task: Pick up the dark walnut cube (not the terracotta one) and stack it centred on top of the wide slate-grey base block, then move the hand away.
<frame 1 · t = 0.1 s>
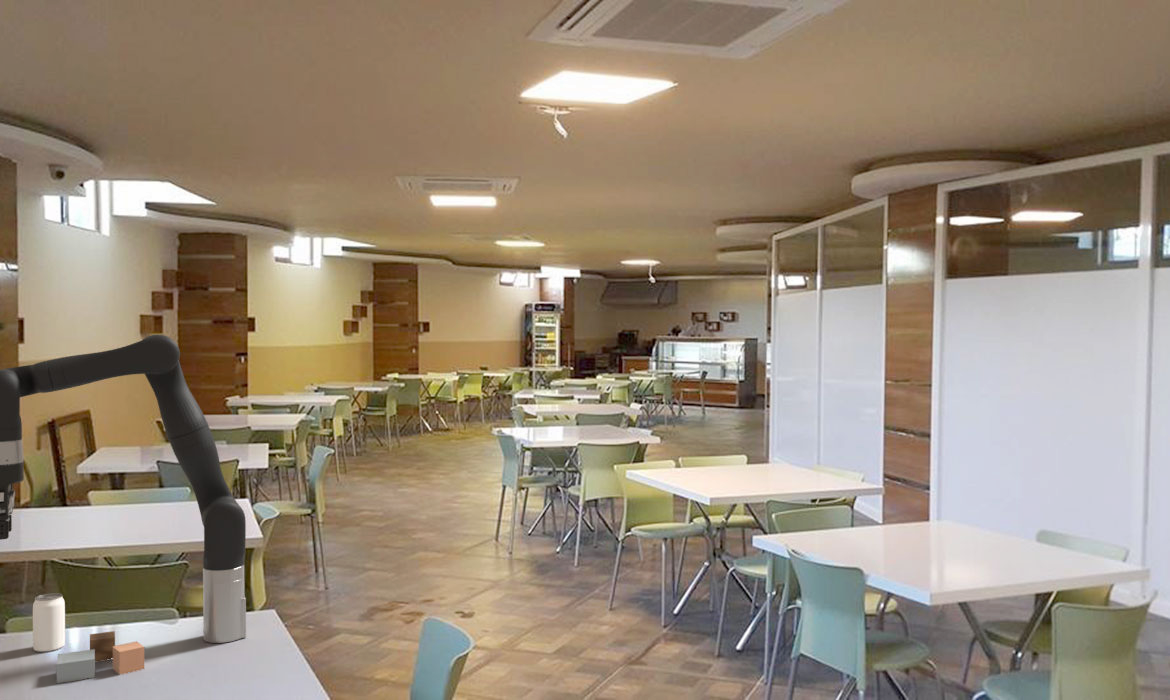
hand: (4, 535, 203), 29 cm above the table, tool pointing down, fingers open, 8 cm apart
terracotta cube: (128, 669, 203), on the table
base block: (76, 675, 199), on the table
can: (49, 648, 216), on the table
walnut cube: (102, 657, 210), on the table
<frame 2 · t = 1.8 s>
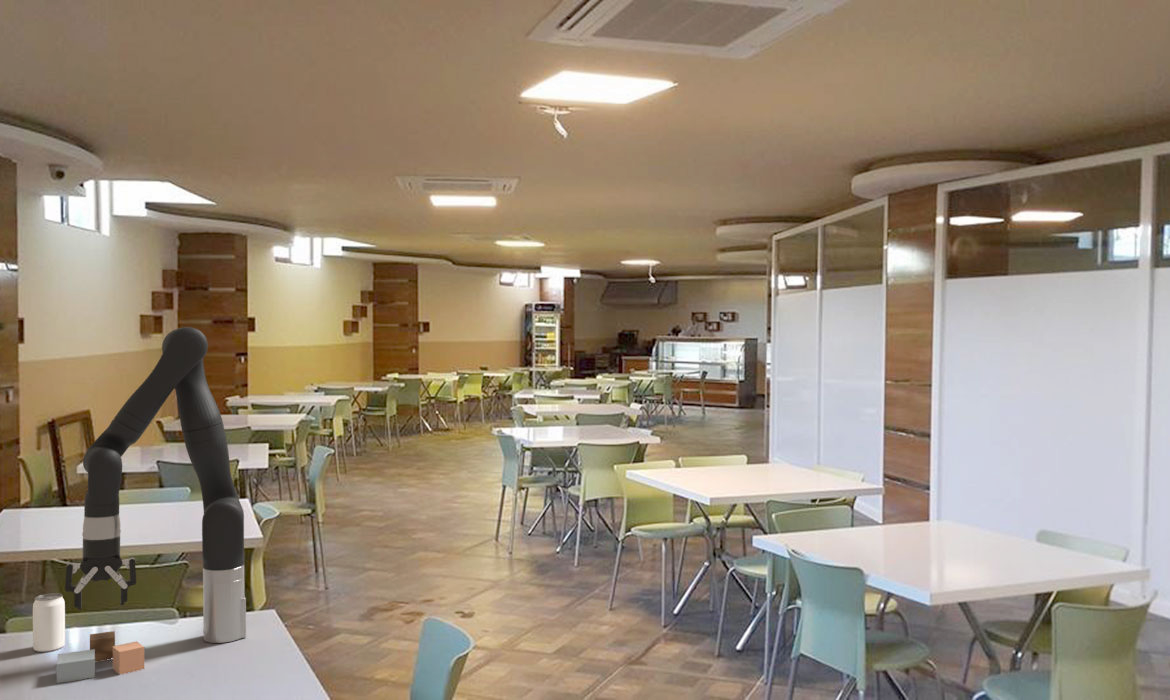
hand: (100, 606, 210), 11 cm above the table, tool pointing down, fingers open, 8 cm apart
nothing on the table moved.
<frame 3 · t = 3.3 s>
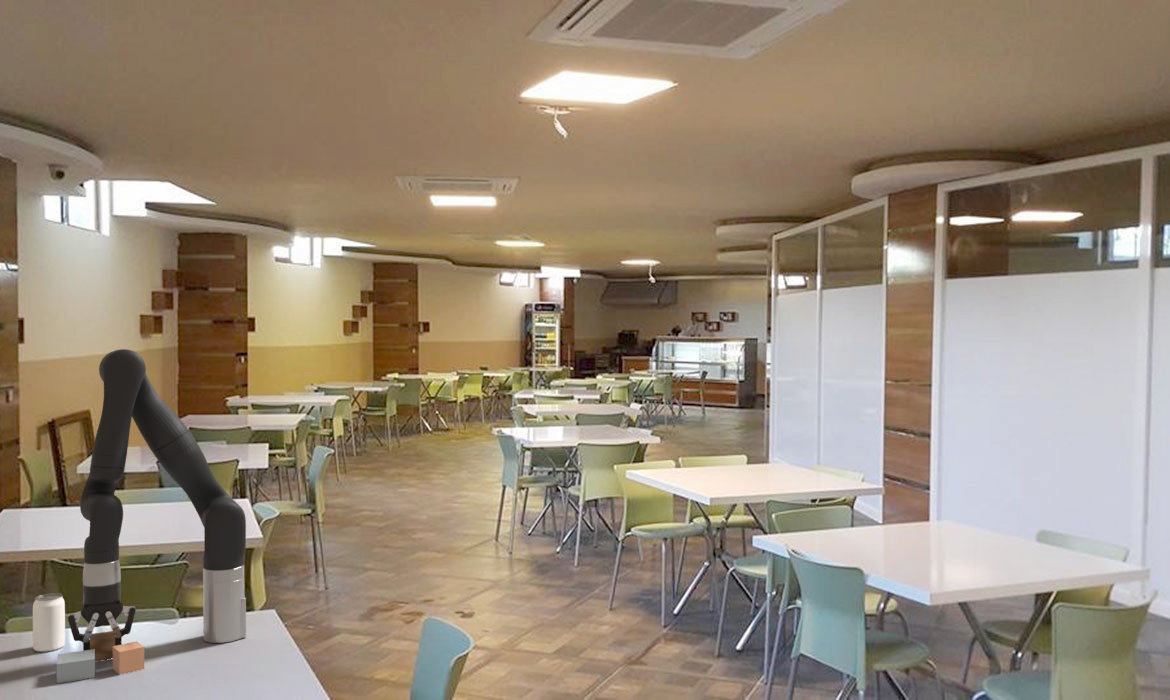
hand: (102, 655, 210), 0 cm above the table, tool pointing down, fingers closed on walnut cube, 5 cm apart
walnut cube: (102, 657, 210), on the table, touching gripper
everything else where it was.
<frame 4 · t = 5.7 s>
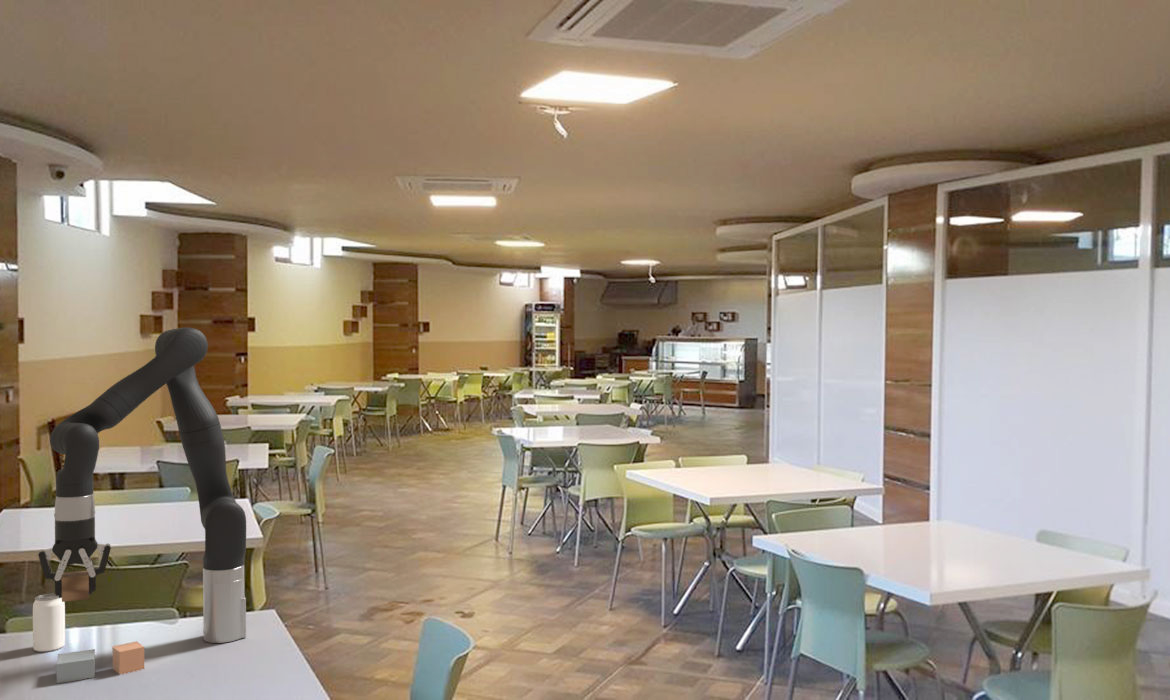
hand: (75, 595, 199), 17 cm above the table, tool pointing down, fingers closed on walnut cube, 5 cm apart
walnut cube: (75, 597, 199), point 17 cm above the table, touching gripper
everything else where it was.
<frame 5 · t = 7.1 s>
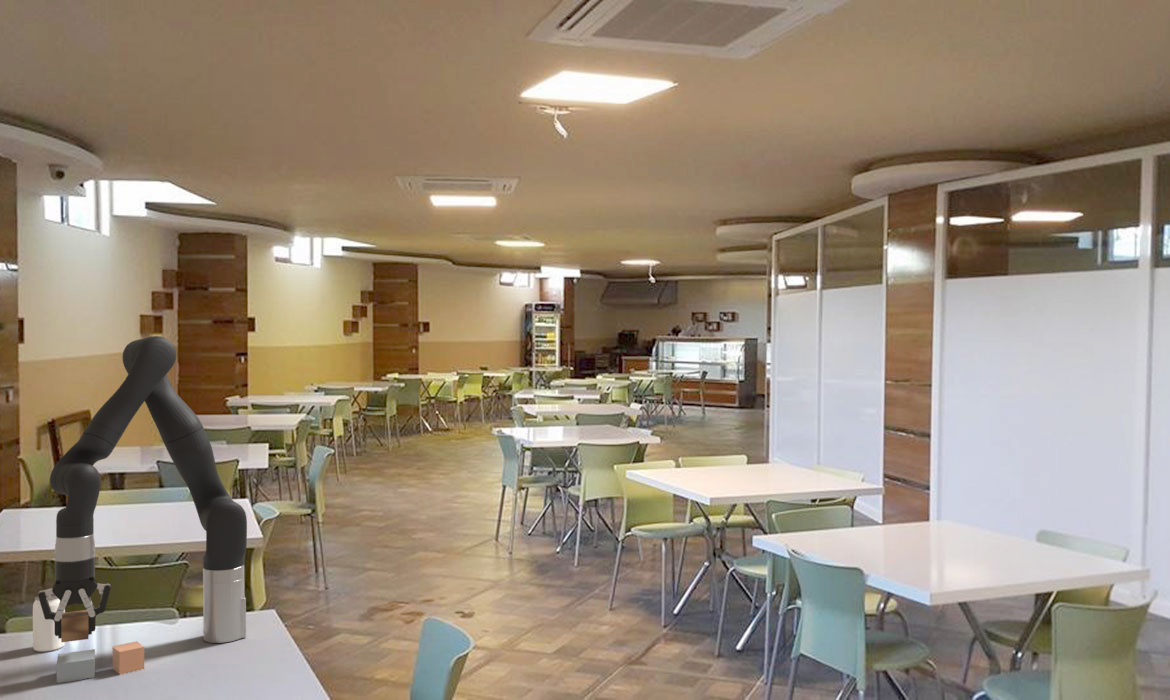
hand: (75, 635, 199), 9 cm above the table, tool pointing down, fingers closed on walnut cube, 5 cm apart
walnut cube: (75, 637, 199), point 8 cm above the table, touching gripper
everything else where it was.
when the fingers open (5 cm above the table, at t = 8.2 s): walnut cube stays where it is, resting on base block.
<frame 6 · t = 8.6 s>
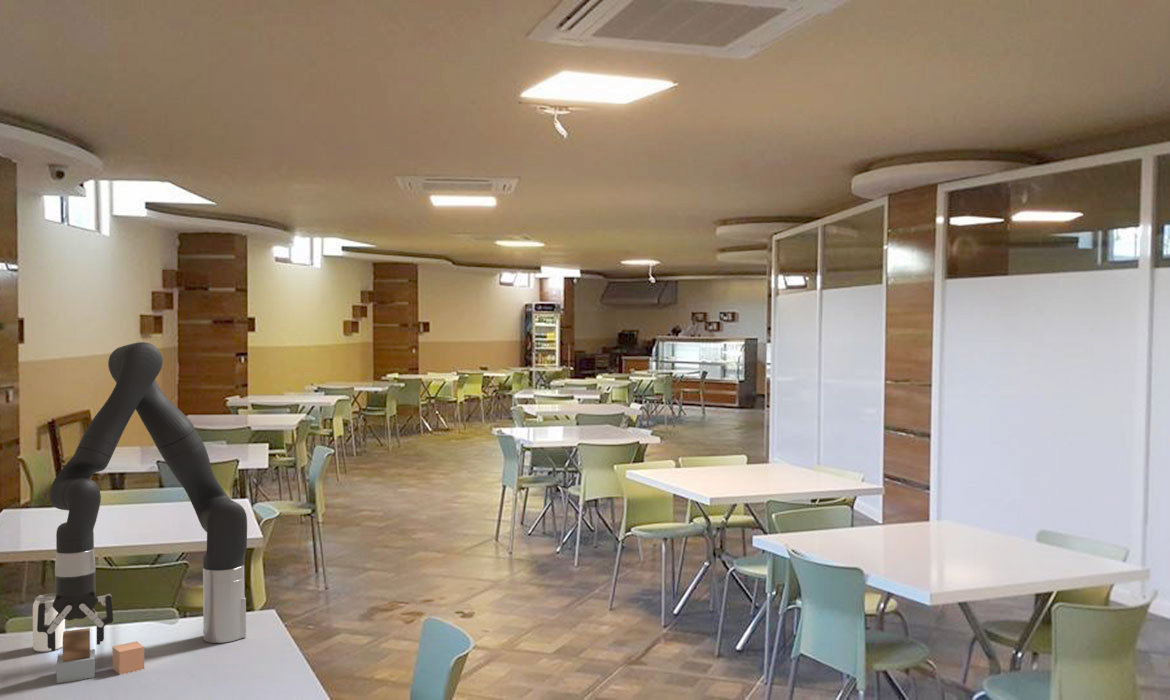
hand: (76, 646, 199), 6 cm above the table, tool pointing down, fingers open, 8 cm apart
walnut cube: (76, 656, 199), point 4 cm above the table, touching base block
everything else where it was.
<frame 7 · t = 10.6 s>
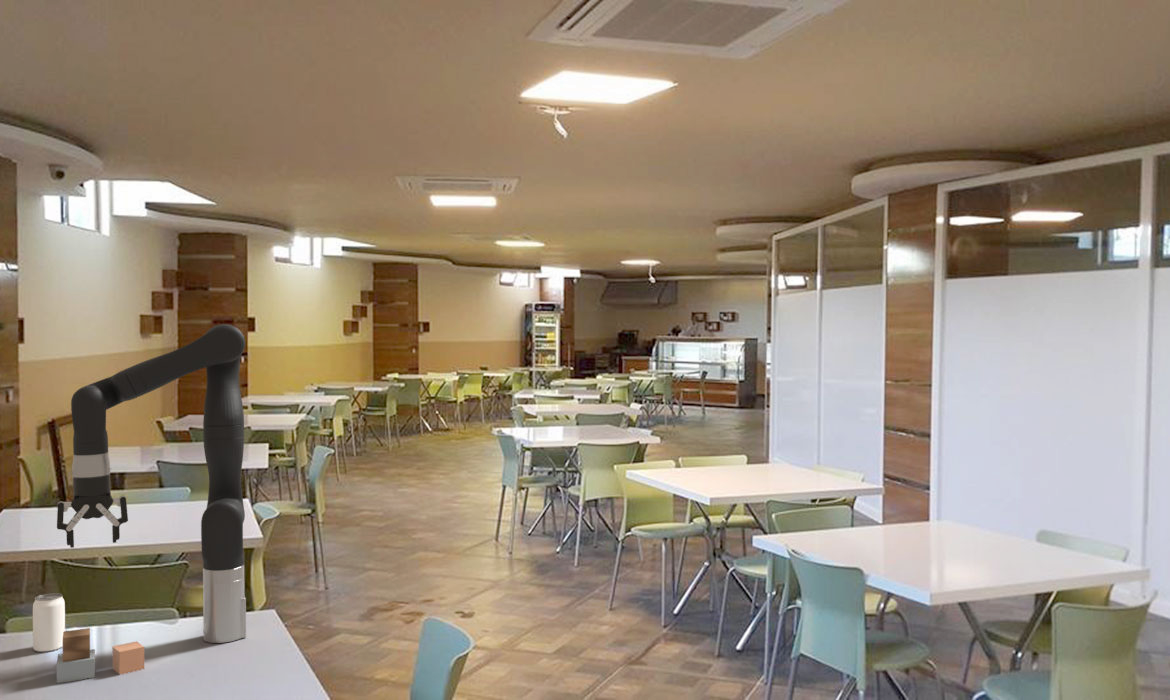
hand: (93, 544, 212), 25 cm above the table, tool pointing down, fingers open, 8 cm apart
nothing on the table moved.
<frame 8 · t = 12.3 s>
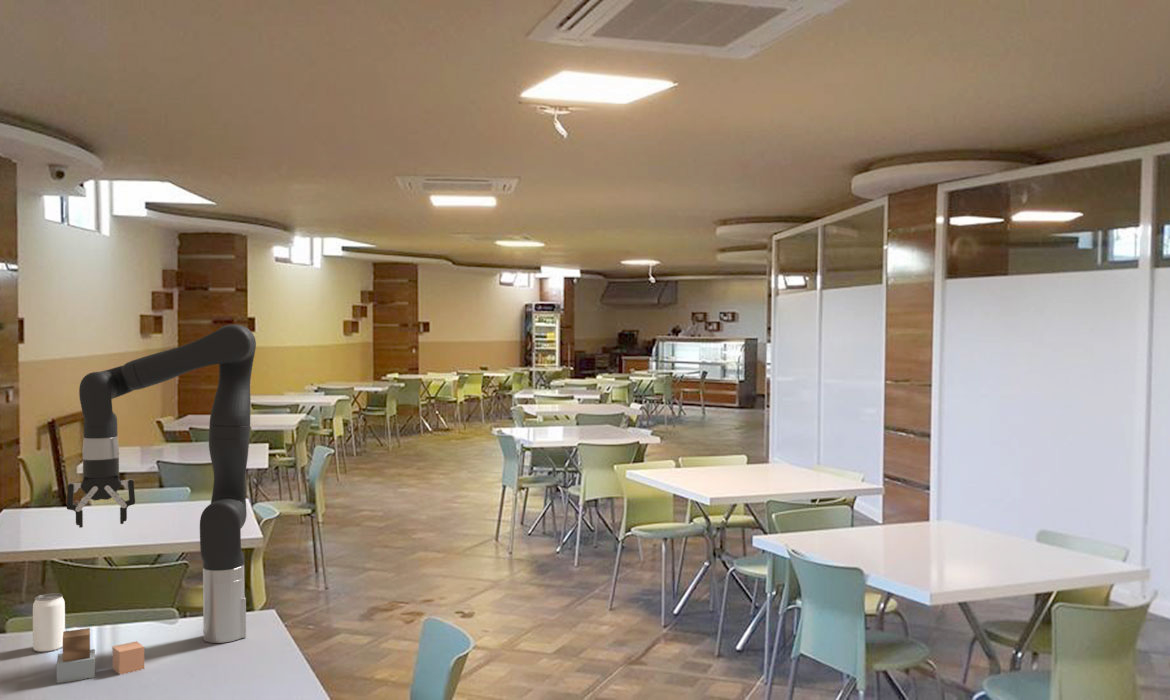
hand: (101, 525, 219), 28 cm above the table, tool pointing down, fingers open, 8 cm apart
nothing on the table moved.
at the end: walnut cube 0.1 cm off-centre on the base block, point 4.0 cm above the base block's base; walnut cube tilted 0°; the gripper is holding nothing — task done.
